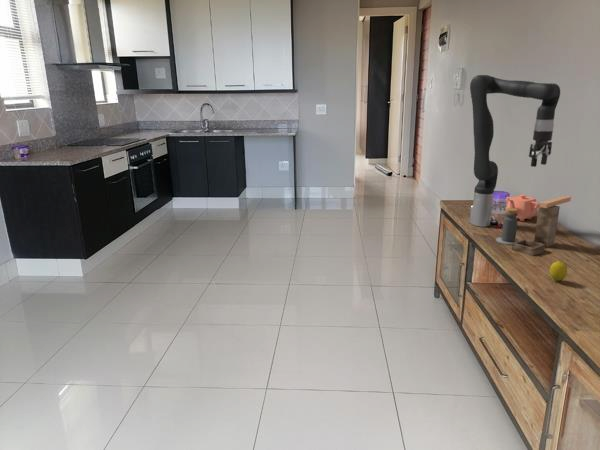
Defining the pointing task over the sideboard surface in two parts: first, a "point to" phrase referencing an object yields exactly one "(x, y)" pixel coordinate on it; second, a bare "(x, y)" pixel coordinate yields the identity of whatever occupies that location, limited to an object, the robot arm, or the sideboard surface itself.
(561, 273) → the lemon
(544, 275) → the sideboard surface
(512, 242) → the mat
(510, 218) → the bottle
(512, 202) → the teapot
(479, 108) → the robot arm
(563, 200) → the bar
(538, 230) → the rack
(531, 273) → the sideboard surface
